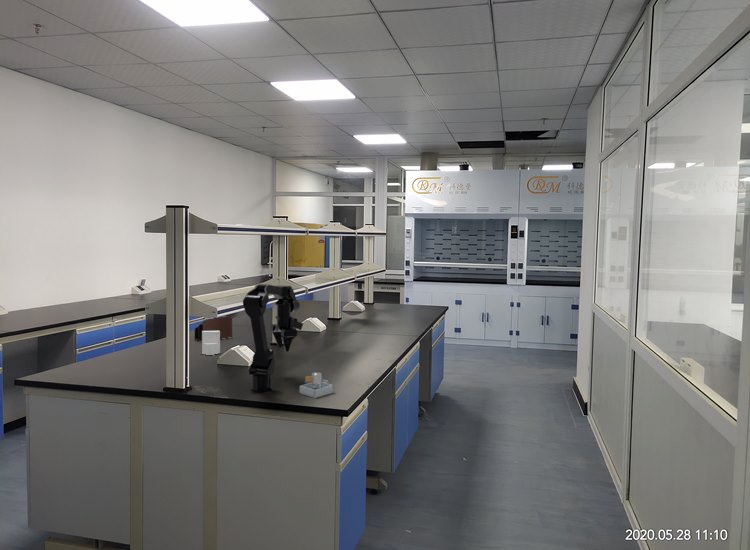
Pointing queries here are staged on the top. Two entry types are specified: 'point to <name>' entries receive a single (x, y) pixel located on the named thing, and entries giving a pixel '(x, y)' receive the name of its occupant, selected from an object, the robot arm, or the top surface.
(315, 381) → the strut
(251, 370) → the robot arm
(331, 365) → the top surface
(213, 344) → the cylinder with rectangular tab
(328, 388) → the bin
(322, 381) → the mount
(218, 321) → the letter holder
